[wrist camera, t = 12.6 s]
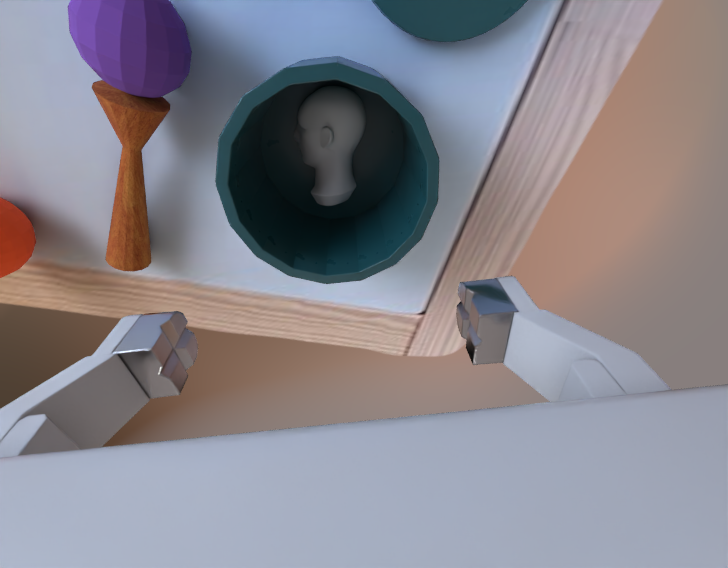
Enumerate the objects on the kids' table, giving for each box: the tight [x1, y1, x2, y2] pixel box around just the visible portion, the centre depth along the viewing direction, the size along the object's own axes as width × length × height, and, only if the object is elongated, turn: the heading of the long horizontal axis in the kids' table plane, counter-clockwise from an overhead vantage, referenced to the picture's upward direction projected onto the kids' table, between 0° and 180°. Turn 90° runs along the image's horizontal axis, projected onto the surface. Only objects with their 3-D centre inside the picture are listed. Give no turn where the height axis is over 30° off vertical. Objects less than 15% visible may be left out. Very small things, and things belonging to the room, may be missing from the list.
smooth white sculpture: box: [294, 86, 366, 206], centre depth 25 cm, size 4×8×5 cm
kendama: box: [68, 0, 192, 271], centre depth 24 cm, size 6×6×20 cm
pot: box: [215, 56, 439, 284], centre depth 24 cm, size 12×12×10 cm
